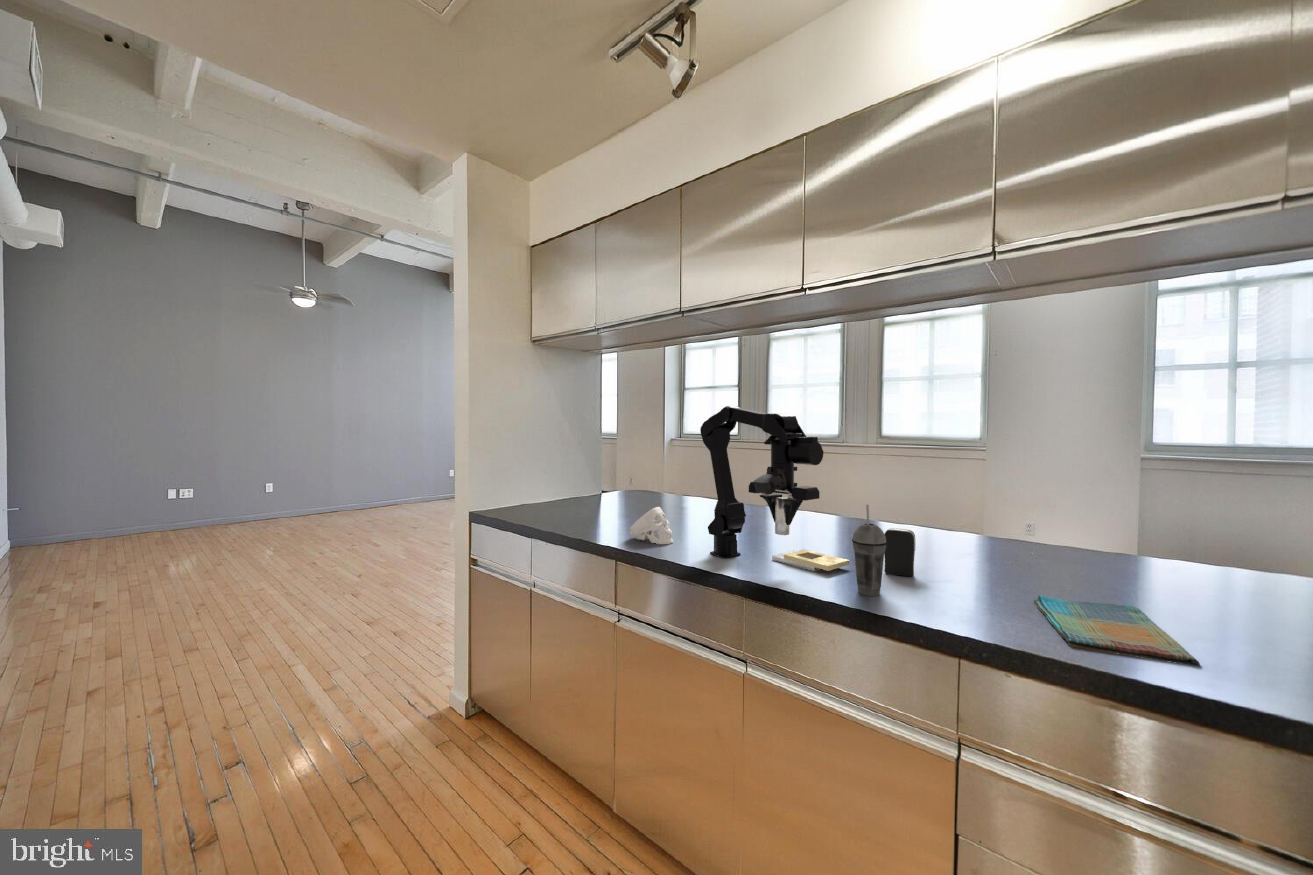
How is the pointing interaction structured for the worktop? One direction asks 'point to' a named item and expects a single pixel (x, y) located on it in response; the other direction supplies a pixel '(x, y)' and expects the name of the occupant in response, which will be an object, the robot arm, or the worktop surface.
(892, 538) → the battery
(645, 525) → the skull bowl
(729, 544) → the robot arm
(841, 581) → the worktop surface
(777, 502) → the pin
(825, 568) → the cream inset tray
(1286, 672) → the worktop surface
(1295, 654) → the worktop surface
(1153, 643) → the dish towel
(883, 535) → the beverage cup
